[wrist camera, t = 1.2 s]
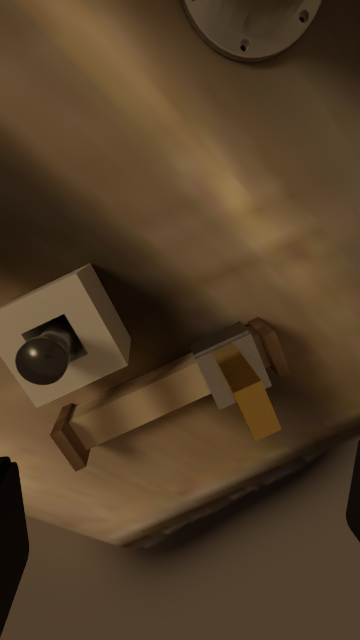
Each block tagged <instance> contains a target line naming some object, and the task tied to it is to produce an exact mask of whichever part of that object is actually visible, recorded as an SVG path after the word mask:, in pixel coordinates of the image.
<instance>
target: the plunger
mask: <svg viewBox="0 0 360 640" xmlns="http://www.w3.org/2000/svg"><path fill="white" fill-rule="evenodd" d="M77 340H78V336H77V334H76V333H75V331H74V329H73V328H72V326H71V324H70V323H69V321H68V319H64V318H61V319H57V320H55V321H53V322H52V323H51V324H50V325H49V326H48V327H47V328H46V330H45V331H44V332H43V333H42V334H41V335H40V336H37V337H34V338H31V339H29V340H28V341H27V342H25V343H24V344H23V345H22V346H21V347H20V349H19V350H18V352H17V354H16V358H15V364H16V368H17V370H18V372H19V374H20V375H21V376H22V377H23V378H24V379H25V380H27V381H29V382H31V383H33V384H37V385H49V384H52V383H55V382H57V381H58V380H59V379H60V378H62V376H63V375H64V373H65V371H66V370H67V368H68V365H69V354H70V352H71V350H72V349H73V347H74V345H75V343H76V342H77Z"/></svg>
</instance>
